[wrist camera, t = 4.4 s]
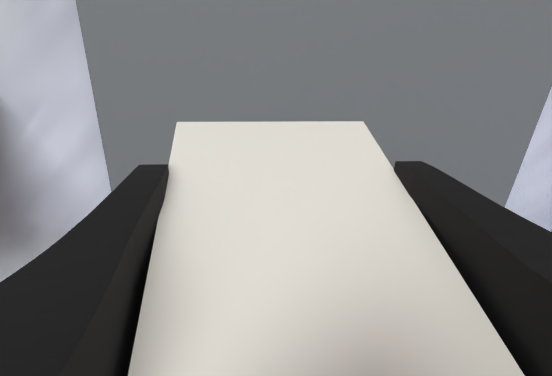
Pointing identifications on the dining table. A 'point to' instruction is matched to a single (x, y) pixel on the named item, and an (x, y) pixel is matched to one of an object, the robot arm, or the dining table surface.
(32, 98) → the dining table surface
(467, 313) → the domino
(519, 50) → the mat
